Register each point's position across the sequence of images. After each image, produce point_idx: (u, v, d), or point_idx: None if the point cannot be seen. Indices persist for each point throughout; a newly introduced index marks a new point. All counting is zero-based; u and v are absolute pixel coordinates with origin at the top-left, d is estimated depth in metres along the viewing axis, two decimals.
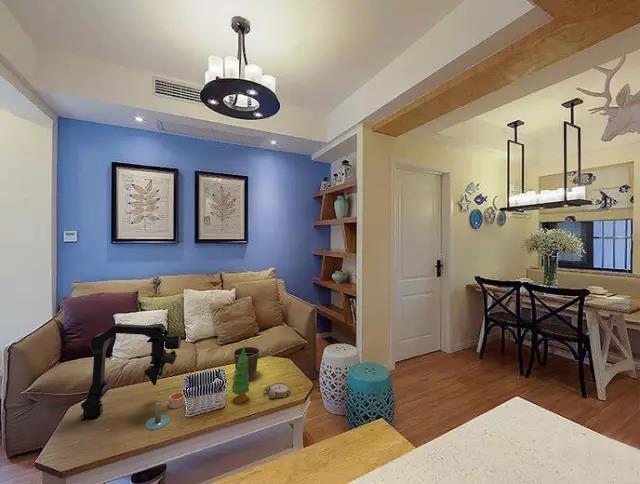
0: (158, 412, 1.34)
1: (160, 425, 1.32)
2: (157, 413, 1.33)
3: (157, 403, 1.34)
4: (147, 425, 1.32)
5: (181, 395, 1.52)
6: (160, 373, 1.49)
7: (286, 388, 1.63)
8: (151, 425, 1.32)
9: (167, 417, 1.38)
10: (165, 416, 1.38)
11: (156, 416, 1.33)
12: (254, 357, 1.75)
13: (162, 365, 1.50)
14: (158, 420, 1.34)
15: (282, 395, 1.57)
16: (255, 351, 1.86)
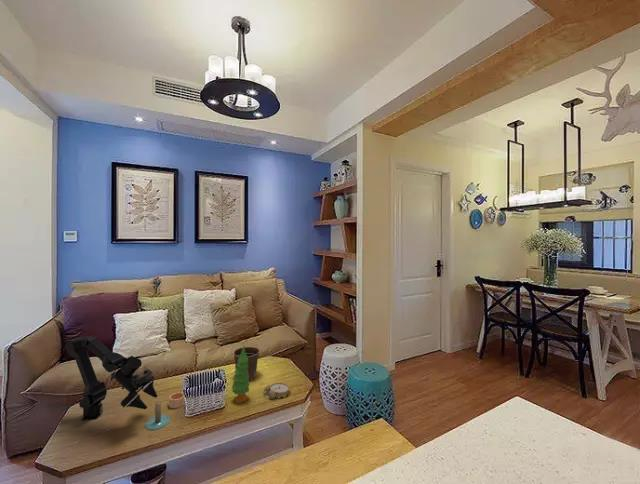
0: (158, 412, 1.34)
1: (160, 425, 1.32)
2: (157, 413, 1.33)
3: (157, 403, 1.34)
4: (147, 425, 1.32)
5: (181, 395, 1.52)
6: (154, 395, 1.38)
7: (286, 388, 1.63)
8: (151, 425, 1.32)
9: (167, 417, 1.38)
10: (165, 416, 1.38)
11: (156, 416, 1.33)
12: (254, 357, 1.75)
13: (150, 387, 1.39)
14: (158, 420, 1.34)
15: (281, 395, 1.57)
16: (255, 351, 1.86)
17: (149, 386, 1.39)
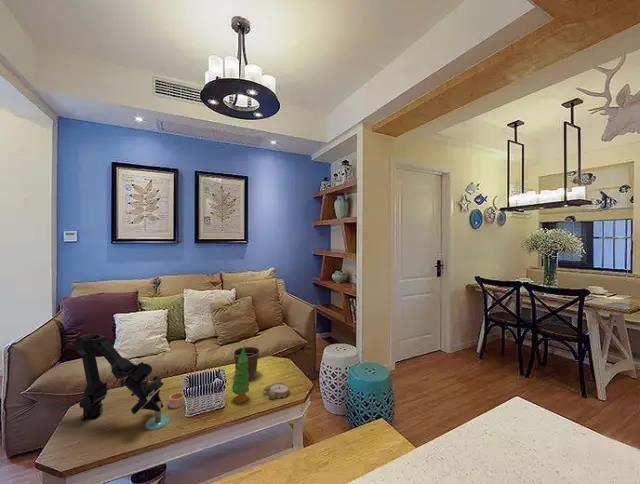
0: (158, 412, 1.34)
1: (160, 425, 1.32)
2: (157, 413, 1.33)
3: (157, 403, 1.34)
4: (147, 425, 1.32)
5: (181, 395, 1.52)
6: None
7: (286, 388, 1.63)
8: (151, 425, 1.32)
9: (167, 417, 1.38)
10: (165, 416, 1.38)
11: (156, 415, 1.33)
12: (254, 357, 1.75)
13: (156, 397, 1.36)
14: (158, 420, 1.34)
15: (281, 395, 1.57)
16: (255, 351, 1.86)
17: (155, 396, 1.36)
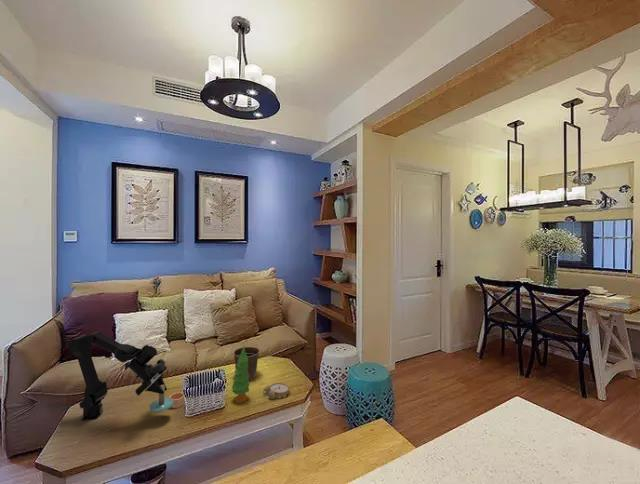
0: (162, 394, 1.36)
1: (163, 407, 1.34)
2: (161, 395, 1.36)
3: (161, 386, 1.36)
4: (151, 407, 1.34)
5: (181, 395, 1.52)
6: None
7: (286, 388, 1.63)
8: (155, 407, 1.34)
9: (170, 400, 1.40)
10: (168, 399, 1.41)
11: (160, 398, 1.36)
12: (254, 357, 1.75)
13: (160, 381, 1.38)
14: (162, 402, 1.36)
15: (281, 395, 1.57)
16: (255, 351, 1.86)
17: (159, 379, 1.38)
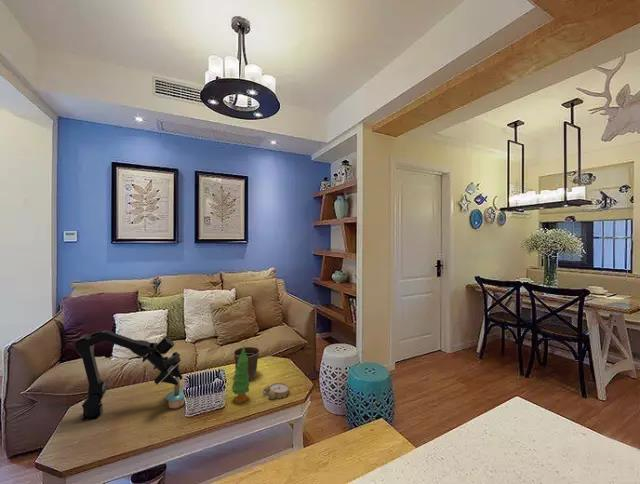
0: (177, 386, 1.48)
1: (179, 397, 1.47)
2: (176, 387, 1.48)
3: (176, 378, 1.49)
4: (167, 397, 1.46)
5: None
6: (180, 377, 1.52)
7: (286, 388, 1.63)
8: (171, 397, 1.46)
9: None
10: None
11: (175, 389, 1.48)
12: (254, 357, 1.75)
13: (176, 370, 1.52)
14: (177, 393, 1.48)
15: (281, 395, 1.57)
16: (255, 351, 1.86)
17: (175, 369, 1.52)
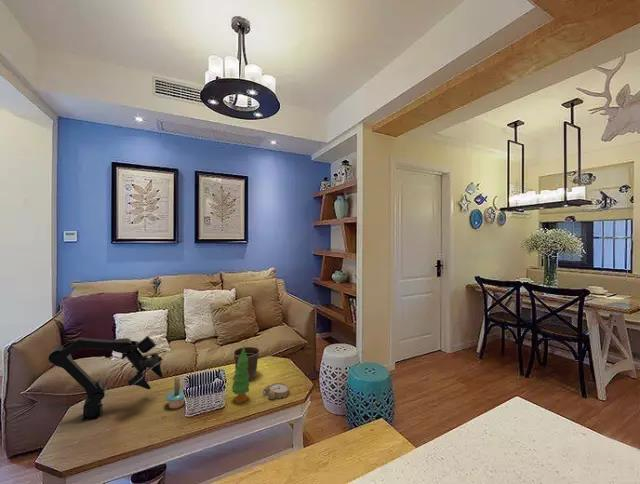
0: (177, 386, 1.48)
1: (179, 397, 1.47)
2: (176, 387, 1.48)
3: (176, 378, 1.49)
4: (167, 397, 1.46)
5: None
6: (160, 375, 1.52)
7: (285, 388, 1.63)
8: (171, 397, 1.46)
9: None
10: None
11: (175, 389, 1.48)
12: (254, 357, 1.75)
13: (157, 368, 1.52)
14: (177, 393, 1.48)
15: (281, 396, 1.57)
16: (255, 351, 1.86)
17: (156, 367, 1.52)
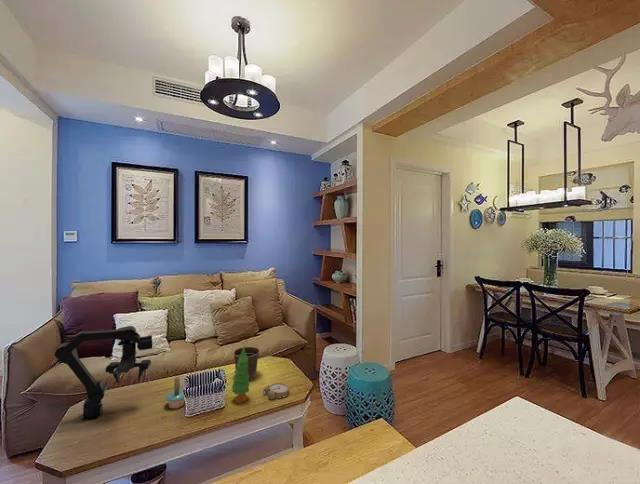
0: (177, 386, 1.48)
1: (179, 397, 1.47)
2: (176, 386, 1.48)
3: (176, 378, 1.49)
4: (167, 397, 1.46)
5: None
6: None
7: (285, 388, 1.63)
8: (171, 397, 1.47)
9: None
10: None
11: (175, 389, 1.48)
12: (254, 357, 1.75)
13: None
14: (177, 393, 1.48)
15: (281, 396, 1.57)
16: (255, 351, 1.86)
17: None
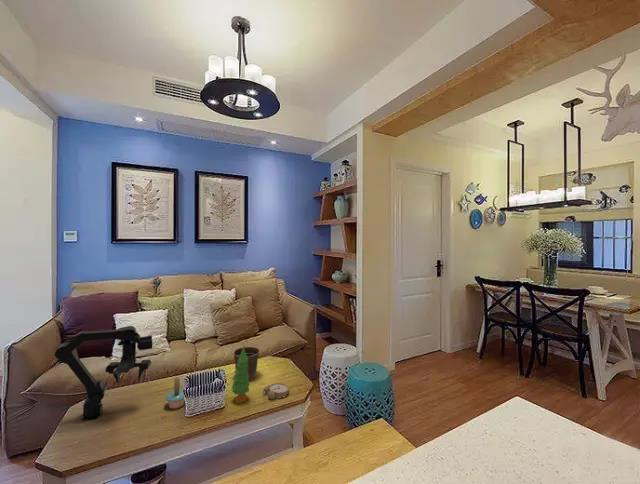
0: (177, 386, 1.48)
1: (179, 397, 1.46)
2: (176, 387, 1.48)
3: (176, 378, 1.49)
4: (167, 397, 1.46)
5: None
6: None
7: (285, 388, 1.63)
8: (171, 397, 1.46)
9: None
10: None
11: (175, 389, 1.48)
12: (254, 357, 1.75)
13: None
14: (177, 393, 1.48)
15: (281, 396, 1.57)
16: (255, 351, 1.86)
17: None
